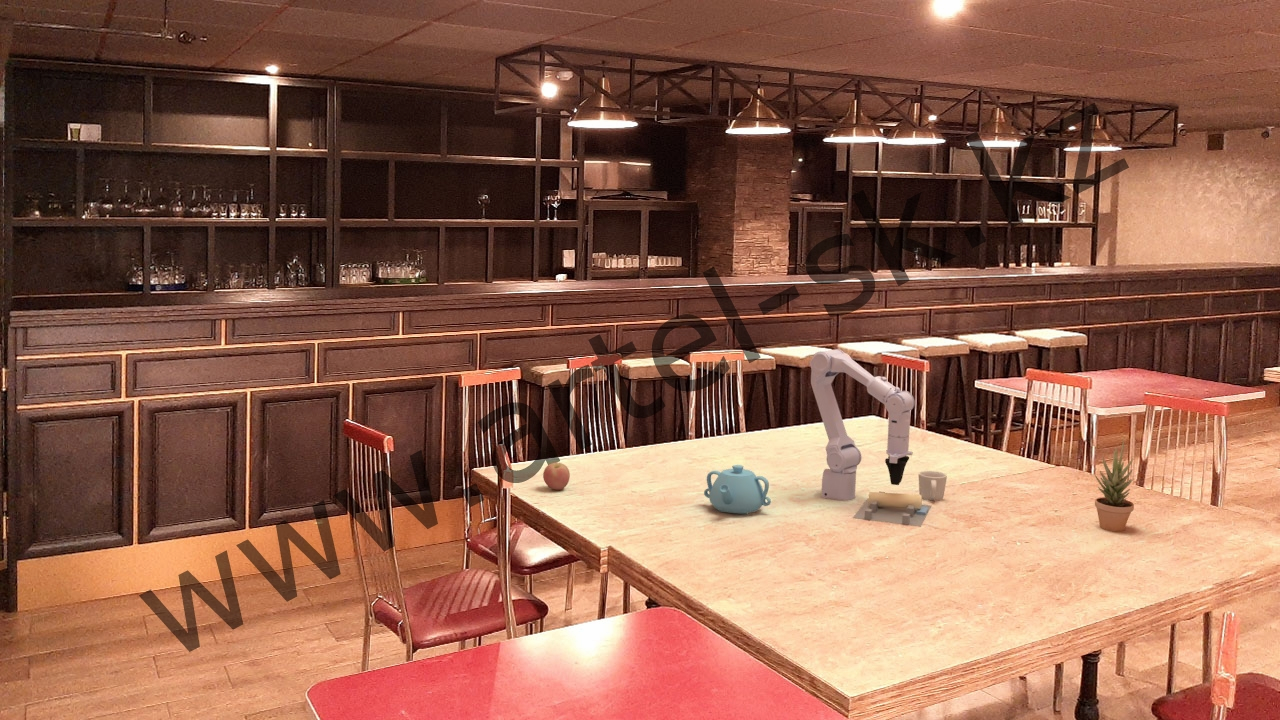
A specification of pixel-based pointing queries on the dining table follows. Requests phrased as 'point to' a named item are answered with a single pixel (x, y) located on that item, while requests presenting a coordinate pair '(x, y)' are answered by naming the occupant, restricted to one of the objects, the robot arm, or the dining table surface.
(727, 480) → the teapot
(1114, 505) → the potted plant
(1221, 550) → the dining table surface
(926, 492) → the cup
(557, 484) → the apple
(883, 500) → the tan tapered cylinder
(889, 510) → the board
